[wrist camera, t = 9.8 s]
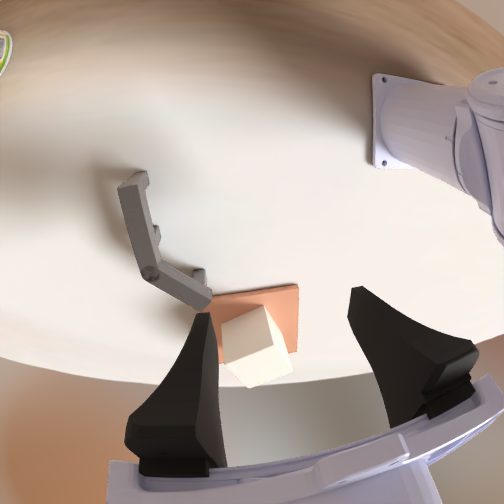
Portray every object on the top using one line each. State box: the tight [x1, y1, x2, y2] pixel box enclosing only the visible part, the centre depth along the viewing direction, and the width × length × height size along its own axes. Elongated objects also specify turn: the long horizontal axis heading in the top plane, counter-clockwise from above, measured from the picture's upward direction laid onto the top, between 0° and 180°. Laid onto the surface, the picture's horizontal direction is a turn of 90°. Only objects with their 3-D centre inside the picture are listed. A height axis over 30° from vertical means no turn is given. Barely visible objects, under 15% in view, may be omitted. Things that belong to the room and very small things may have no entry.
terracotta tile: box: [202, 285, 299, 364], centre depth 28 cm, size 9×9×1 cm
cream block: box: [221, 305, 293, 388], centre depth 25 cm, size 4×4×5 cm
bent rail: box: [117, 171, 212, 312], centre depth 20 cm, size 5×10×4 cm, turn 4°
